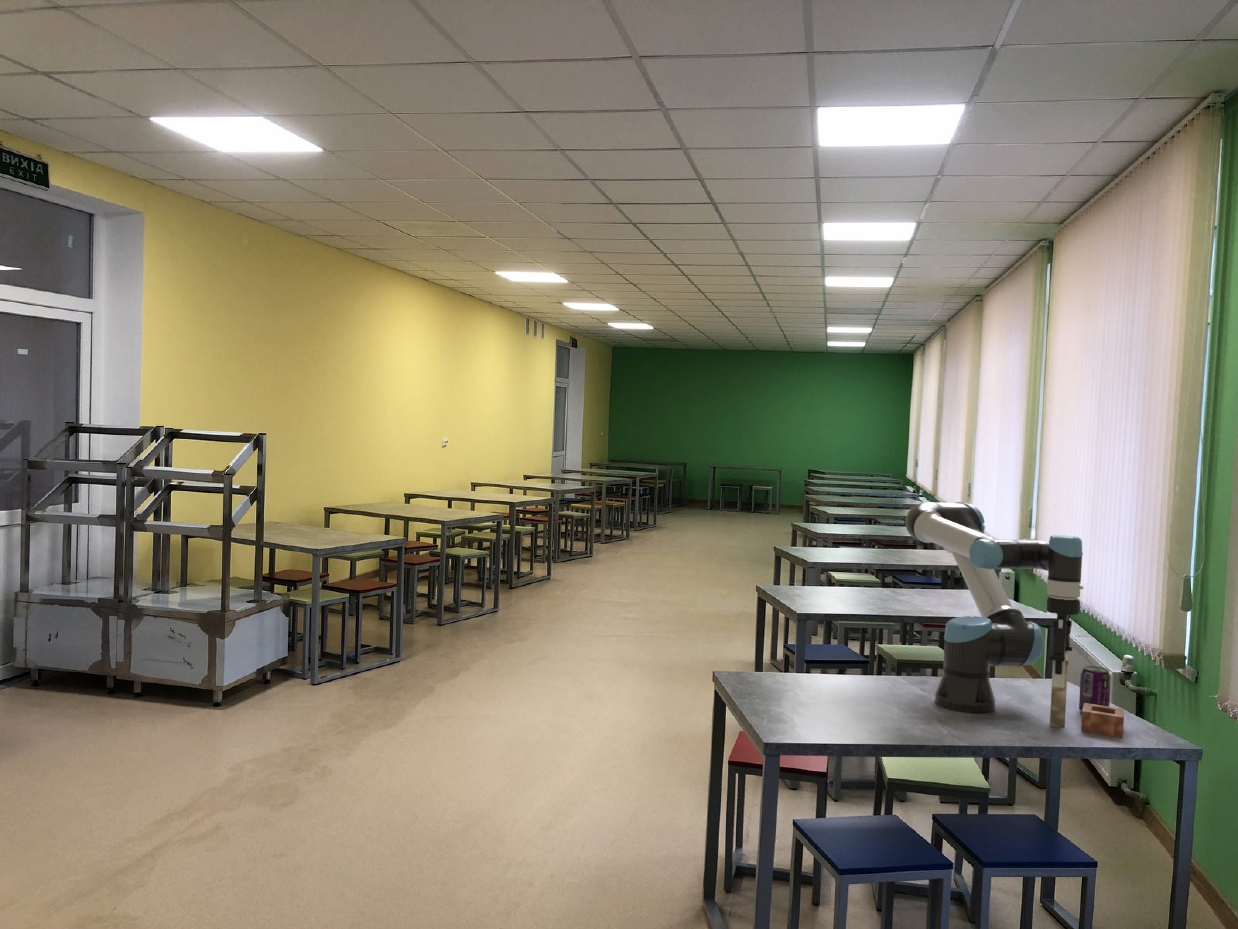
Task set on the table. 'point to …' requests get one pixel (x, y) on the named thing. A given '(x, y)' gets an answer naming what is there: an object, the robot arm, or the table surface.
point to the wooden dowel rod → (1059, 702)
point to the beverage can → (1094, 686)
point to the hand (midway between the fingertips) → (1060, 681)
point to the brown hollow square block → (1102, 720)
